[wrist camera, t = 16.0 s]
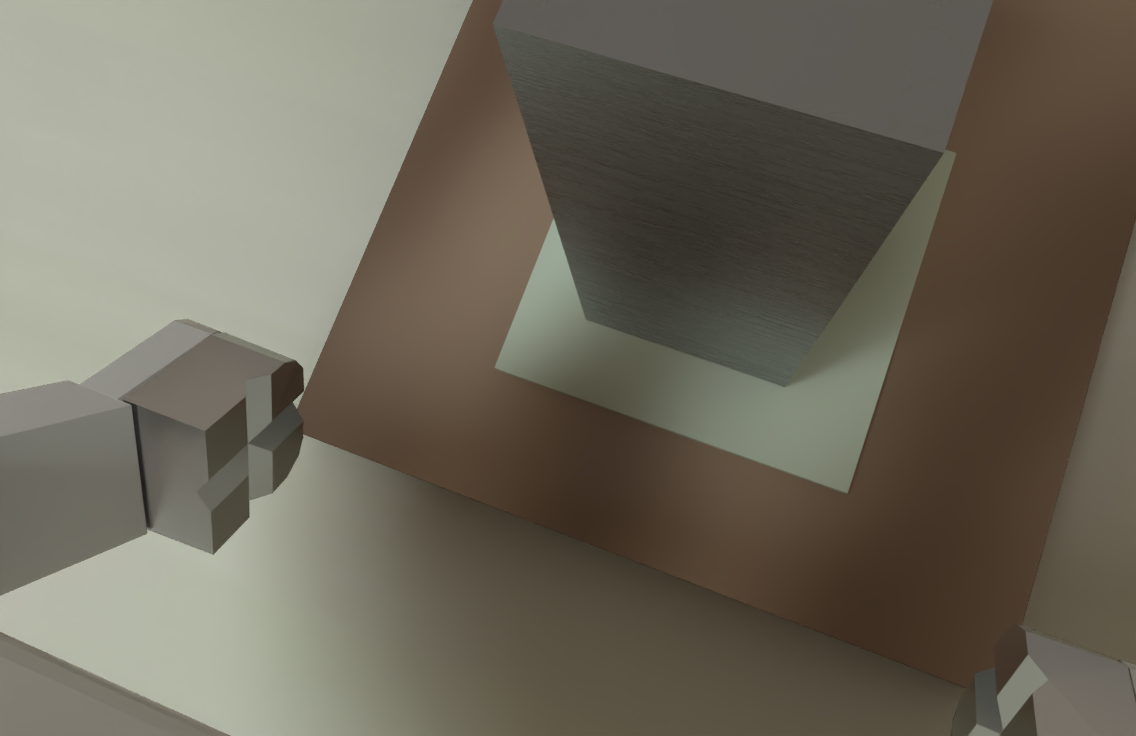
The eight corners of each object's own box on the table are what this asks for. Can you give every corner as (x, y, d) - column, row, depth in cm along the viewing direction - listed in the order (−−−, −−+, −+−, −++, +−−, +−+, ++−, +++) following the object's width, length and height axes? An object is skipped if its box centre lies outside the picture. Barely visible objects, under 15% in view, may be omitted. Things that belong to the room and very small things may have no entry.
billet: (585, 320, 18) (489, 10, 8) (654, 139, 18) (644, -357, 9) (785, 387, 17) (952, 141, 7) (849, 197, 18) (1082, -267, 8)
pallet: (316, 438, 20) (284, 427, 18) (673, -403, 23) (674, -476, 22) (971, 689, 17) (1004, 702, 16) (1251, -290, 21) (1302, -363, 19)
